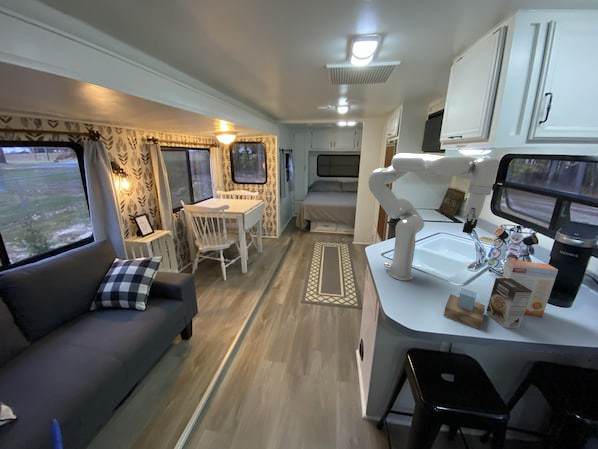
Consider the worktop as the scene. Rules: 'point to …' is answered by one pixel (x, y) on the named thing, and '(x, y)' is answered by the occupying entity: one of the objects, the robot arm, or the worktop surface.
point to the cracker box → (533, 282)
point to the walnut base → (464, 312)
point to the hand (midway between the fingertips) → (468, 230)
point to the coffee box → (508, 302)
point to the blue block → (466, 299)
